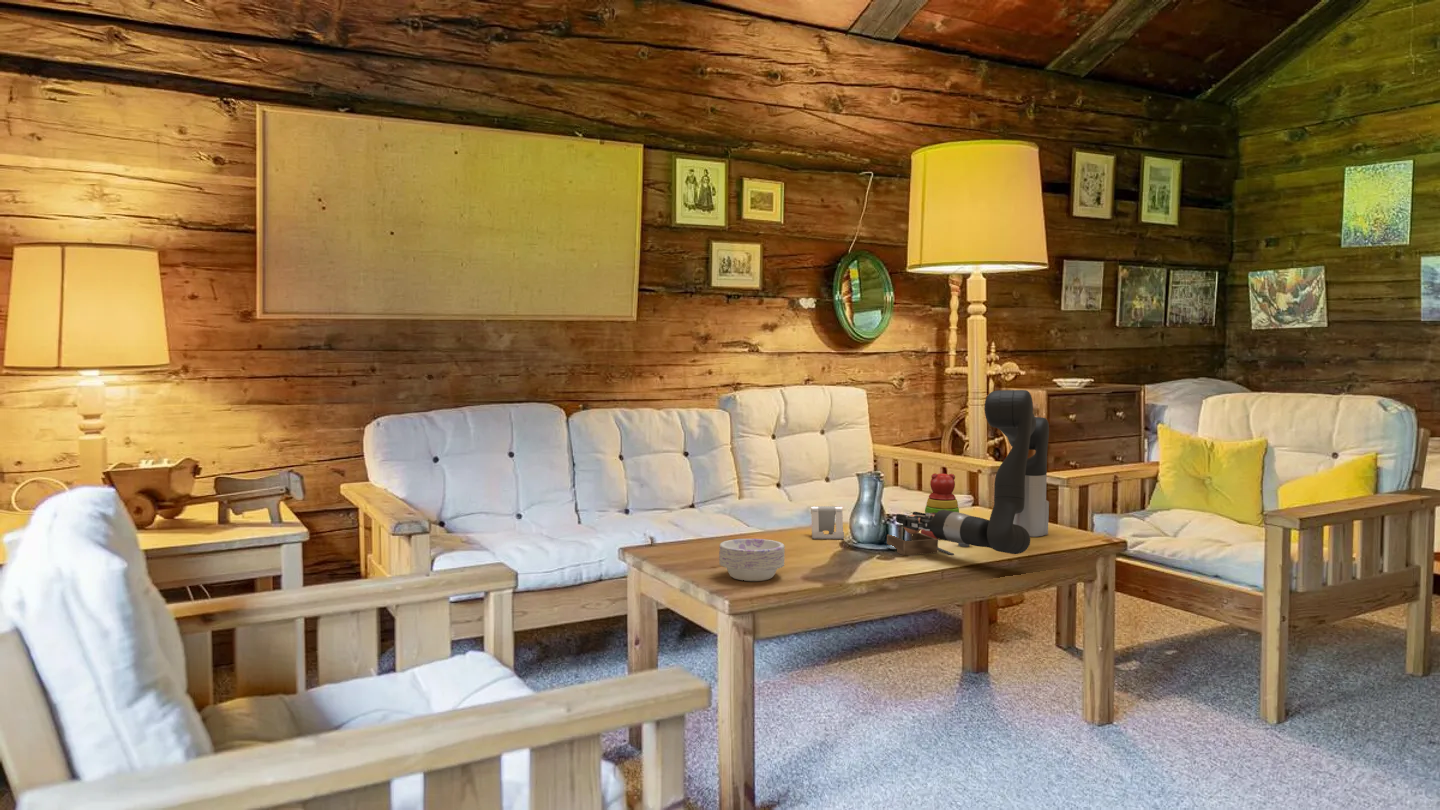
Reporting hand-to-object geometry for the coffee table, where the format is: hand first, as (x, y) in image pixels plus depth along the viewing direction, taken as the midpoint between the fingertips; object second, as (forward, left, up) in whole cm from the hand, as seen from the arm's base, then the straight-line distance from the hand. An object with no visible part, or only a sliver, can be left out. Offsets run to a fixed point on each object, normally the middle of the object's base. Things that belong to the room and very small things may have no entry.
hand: (905, 516), depth 267 cm
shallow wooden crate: (-1, +2, -8) cm, 9 cm away
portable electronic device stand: (+13, -20, -9) cm, 26 cm away
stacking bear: (-18, -11, -9) cm, 23 cm away
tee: (-17, +2, -8) cm, 19 cm away
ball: (-1, +3, -2) cm, 3 cm away
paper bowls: (+49, +16, -9) cm, 53 cm away
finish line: (-8, +2, -8) cm, 12 cm away
